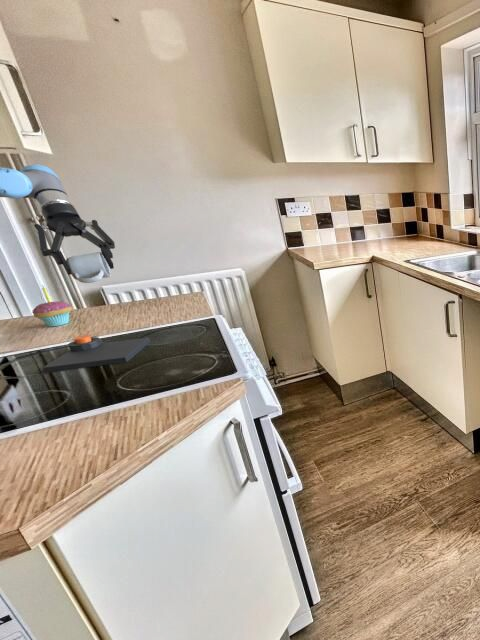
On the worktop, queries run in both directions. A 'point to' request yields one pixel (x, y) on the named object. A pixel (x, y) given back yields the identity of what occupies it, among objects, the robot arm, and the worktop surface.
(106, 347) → the scale
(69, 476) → the worktop surface
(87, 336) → the button
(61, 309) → the cupcake
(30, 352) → the worktop surface
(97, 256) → the ceramic mug
